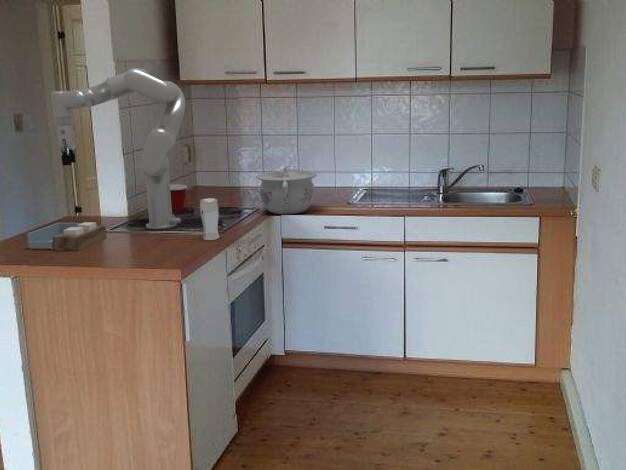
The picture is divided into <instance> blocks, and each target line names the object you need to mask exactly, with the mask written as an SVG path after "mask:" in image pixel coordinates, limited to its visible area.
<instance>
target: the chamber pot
mask: <svg viewBox="0 0 626 470" xmlns="http://www.w3.org/2000/svg"><path fill="white" fill-rule="evenodd" d="M317 176H318V174H317V173H316V172H312V171H309V170H299V169H298V170H297V169H288V166H285V167H284V168H283V170H281V169H280V170H273V171H267V172H264V173H263V172H262V173H260V174H258V175H256V176H255V178H256V179H257V180H259V181H260V182H261V184H260V186H259V194H260V198H261V202H262V204H263V205H264V207H265V208H266V209H267V211H268V212H269V213H272V214H275V215H280V216H287V215H288V216H290V215H298V214H301V213H304V212H306V211H307V210H308V209H309V208H310V206H311V204H312V202H313V200H314V195H315V184H314V183H313V181H312V179H313V178H316V177H317Z"/></svg>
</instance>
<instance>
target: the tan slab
mask: <svg viewBox="0 0 626 470" xmlns="http://www.w3.org/2000/svg"><path fill="white" fill-rule="evenodd" d="M96 226H97V228H94V229H92V230H84V233H82V234H79V235H76V236H73V235H64V233H61V234H59V235H56V236H53V237H52V239H53V247H54V249H62V250H61V251H65V250H79V251H81V250H83V248H84V249H85V247H86V248H87V247H88V248H89V247H90V246H93V245H95V244H97V243H100V242H102V241H104V240H107V238H108V237H107V228H106V226H105V225H96ZM80 249H81V250H80Z"/></svg>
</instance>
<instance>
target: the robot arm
mask: <svg viewBox="0 0 626 470" xmlns="http://www.w3.org/2000/svg"><path fill="white" fill-rule="evenodd" d="M135 93H137V94H138V95H141V96H143V97H145V98H147V99H149V100H151V101H154V102H156V103H160V104H164V106H163V109H162V111H161V113H160V117H159V120H158V123H157V125H156V127H155V128H153V129H151V130H150V132H149V133H148V135H147V136H146V140H145V142H144V146H143V149H142V151H141V155H140V158H139V160H138V161H139V162H138V169H139V171H140V172H141V173H142V175H144V176H145V182H146V183H145V184H146V196H147V198H146V199H147V210H148V211H147V212H148V220H149V222H147V223H146V224H145V228H146V229H149V230H165V229H171V228H174V227H177V224H180V223H182V218H181V217H176V216H175V214H173V212H172V206H171V194H170V185H171V180H170V179H171V178H170V169H171V168H170V161H169V160H170V159H169V157H168V153H169V150H170V149H171V148H172V147H173V146H174V145H175V143H176V139H177V137H178V133H179V131H180V127H181V124H182V121H183V117H184V114H185V112H186V111H185V110H186V98H185V94H184V92H183V90H181V88H180V86H178V85H177V84H175V82H172V81H169V80H161V79H159V78H157V77H155V76H153V75H150V73H149V72H148V71H147V70H145V69H143V68H140V67H138V68H137V67H134V68H130V69H128V70H127V71H126V72H123V73H120V74H117V75H113V76H111V77H108V78H106V79H105V80H104V81H103V82H102V83H99V84H97V85H94V86H90V87H87V88H84V89H83V88H81V89H74V90H56V91H52V92H51V95H50V98H51V105H52V106H51V107H52V113H53V114H52V115H53V121H54V122H53V123H54V127H57V138H58V145H59V149H60V153H61V163H62V166H72V163H76V153H75V149H76V148H77V143H76V137H75V131H74V127H73V126H75V121H74V111H73V109H76V110H78V109H79V110H81V109H88V108H91V107H94V106H97V105H101V104H103V103H106V102H109V101H113V100H116V99H117V100H118V99H119V98H123V97H124V96H125V97H126V96H129V95H131V94H135Z"/></svg>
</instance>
